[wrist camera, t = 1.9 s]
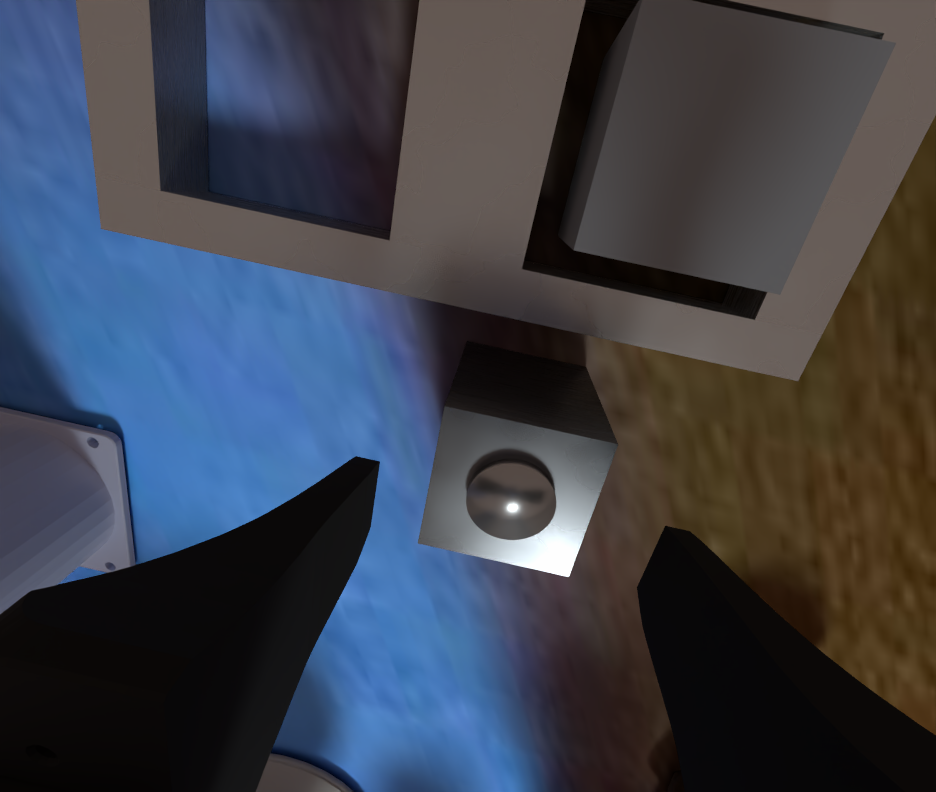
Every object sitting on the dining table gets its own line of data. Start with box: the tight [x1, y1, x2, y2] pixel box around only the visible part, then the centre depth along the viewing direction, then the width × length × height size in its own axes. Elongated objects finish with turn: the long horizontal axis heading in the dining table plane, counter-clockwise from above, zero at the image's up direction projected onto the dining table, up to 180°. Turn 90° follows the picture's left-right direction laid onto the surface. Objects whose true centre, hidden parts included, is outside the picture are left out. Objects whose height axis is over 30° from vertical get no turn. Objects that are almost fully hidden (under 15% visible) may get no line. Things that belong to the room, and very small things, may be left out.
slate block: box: [558, 0, 896, 295], centre depth 13 cm, size 5×5×5 cm
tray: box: [76, 0, 936, 381], centre depth 14 cm, size 22×10×2 cm, turn 79°
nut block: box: [418, 341, 618, 577], centre depth 15 cm, size 4×4×6 cm
